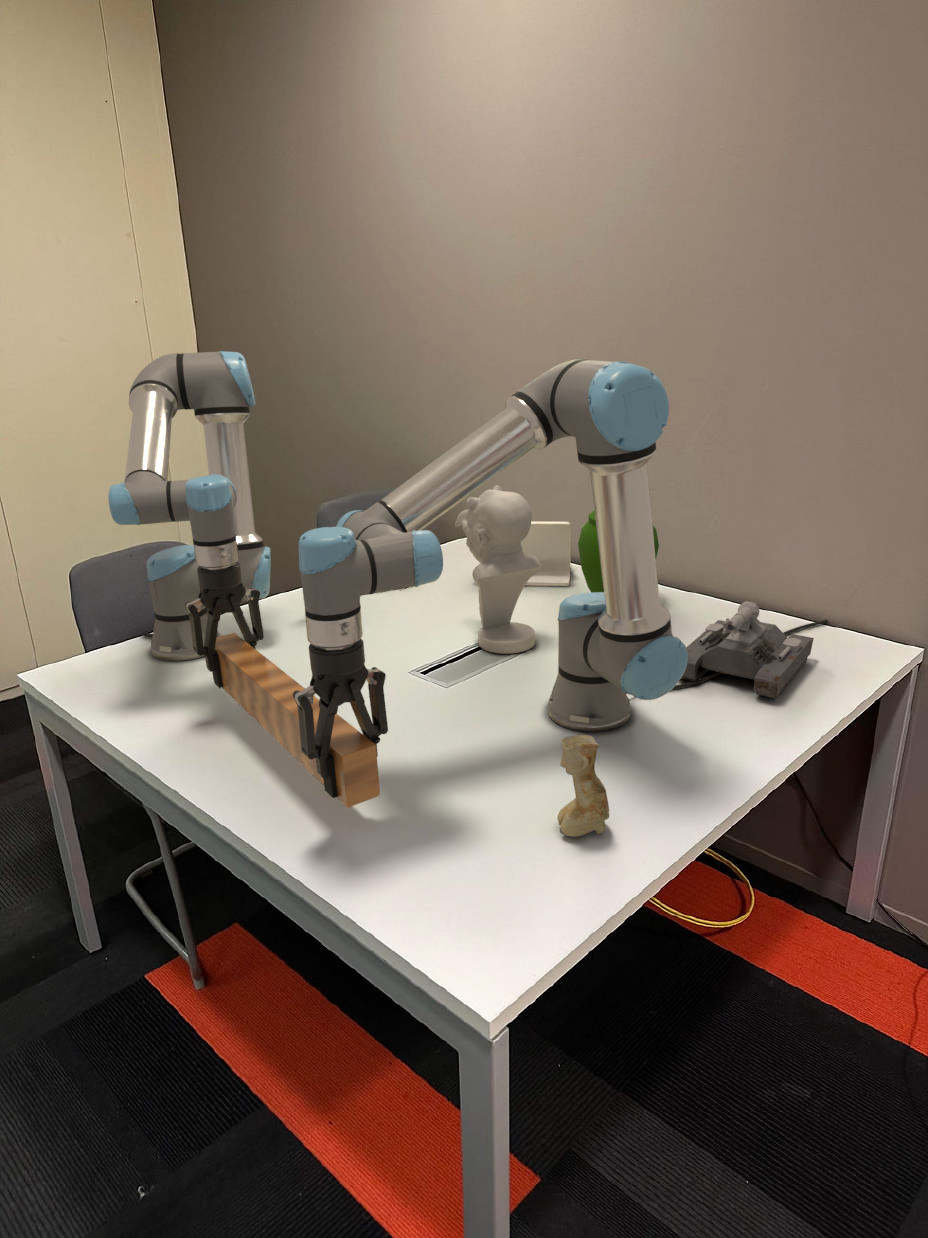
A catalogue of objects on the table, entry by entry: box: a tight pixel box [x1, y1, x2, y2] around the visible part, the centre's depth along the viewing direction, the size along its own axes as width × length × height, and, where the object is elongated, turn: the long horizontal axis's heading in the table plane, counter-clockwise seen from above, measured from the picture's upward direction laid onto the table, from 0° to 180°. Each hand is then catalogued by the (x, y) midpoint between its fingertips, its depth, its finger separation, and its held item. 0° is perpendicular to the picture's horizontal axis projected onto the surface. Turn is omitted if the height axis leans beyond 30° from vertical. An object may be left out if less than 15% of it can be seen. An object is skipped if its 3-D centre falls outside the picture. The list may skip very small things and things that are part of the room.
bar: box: [211, 632, 381, 809], centre depth 142 cm, size 55×5×8 cm, turn 35°
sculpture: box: [557, 734, 610, 838], centre depth 122 cm, size 6×7×15 cm
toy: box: [680, 600, 814, 700], centre depth 172 cm, size 25×20×15 cm
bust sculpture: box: [454, 485, 542, 655], centre depth 190 cm, size 16×24×35 cm, turn 28°
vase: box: [577, 510, 660, 593], centre depth 210 cm, size 20×20×24 cm
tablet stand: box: [520, 520, 572, 587], centre depth 236 cm, size 18×25×17 cm
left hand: (234, 680), depth 162 cm, fingers closed on bar, 5 cm apart
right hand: (349, 786), depth 125 cm, fingers closed on bar, 5 cm apart
